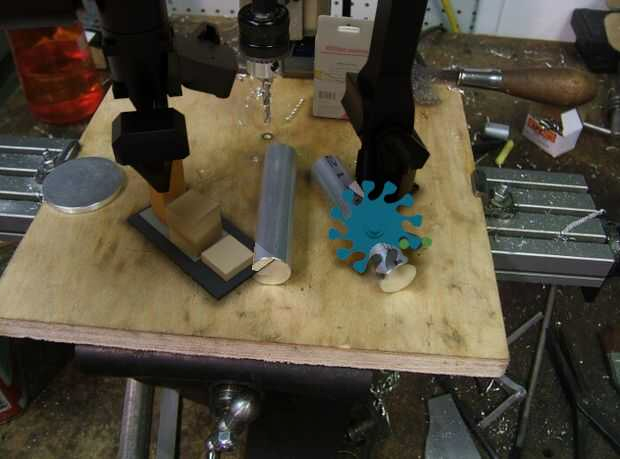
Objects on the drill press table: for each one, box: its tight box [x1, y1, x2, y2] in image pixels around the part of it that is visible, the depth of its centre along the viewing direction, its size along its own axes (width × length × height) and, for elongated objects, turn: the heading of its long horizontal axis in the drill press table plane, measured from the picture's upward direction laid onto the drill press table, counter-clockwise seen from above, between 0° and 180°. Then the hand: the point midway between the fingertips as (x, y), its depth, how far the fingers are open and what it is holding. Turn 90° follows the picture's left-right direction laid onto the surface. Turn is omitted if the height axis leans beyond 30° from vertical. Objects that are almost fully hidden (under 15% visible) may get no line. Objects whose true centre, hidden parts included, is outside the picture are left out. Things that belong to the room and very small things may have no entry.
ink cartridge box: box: [312, 14, 375, 120], centre depth 76 cm, size 9×5×15 cm, turn 83°
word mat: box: [126, 188, 259, 301], centre depth 61 cm, size 16×8×2 cm, turn 46°
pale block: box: [165, 188, 223, 258], centre depth 60 cm, size 4×4×5 cm
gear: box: [327, 181, 433, 274], centre depth 61 cm, size 11×6×10 cm
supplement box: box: [147, 159, 187, 226], centre depth 61 cm, size 3×3×10 cm
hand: (161, 163), depth 59 cm, fingers open, 9 cm apart
